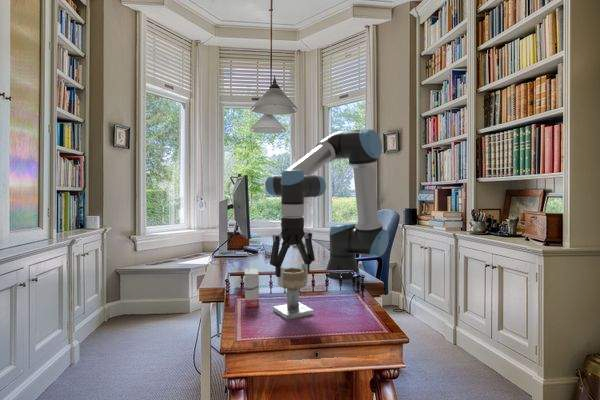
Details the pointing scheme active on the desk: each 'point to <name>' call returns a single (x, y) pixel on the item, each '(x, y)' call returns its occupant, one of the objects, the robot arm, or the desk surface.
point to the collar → (294, 278)
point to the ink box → (251, 288)
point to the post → (293, 306)
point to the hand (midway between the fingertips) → (292, 284)
